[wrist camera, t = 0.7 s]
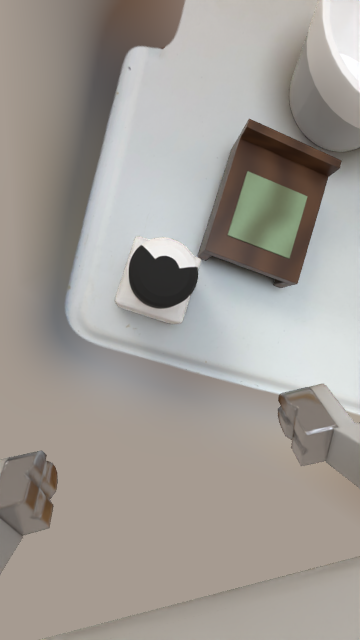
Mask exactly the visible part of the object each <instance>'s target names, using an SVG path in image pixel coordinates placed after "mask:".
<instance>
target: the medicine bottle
mask: <svg viewBox="0 0 360 640" xmlns="http://www.w3.org/2000/svg"><path fill="white" fill-rule="evenodd" d="M200 264H201V259H200V258H198V257H196V256H193V254H192V253H191V251H190V250H189V249H188V248H187V247H186V246H185V245H183V244H182V243H180V242H179V241H177V240H174V239H171V238H164V237H162V238H154V239H151V240H149V239H146V238H143V237H140V236H137V237H135V239H134V242H133V245H132V248H131V251H130V254H129V257H128V260H127V263H126V266H125V269H124V273H123V276H122V279H121V282H120V285H119V288H118V291H117V294H116V297H115V302H116V304H117V306H118V307H120V308H122V309H126V310H129V311H132V312H135V313H138V314H141V315H144V316H147V317H151V318H154V319H157V320H160V321H163V322H166V323H169V324H178V323H182V321H183V318H184V315H185V312H186V309H187V306H188V302H189V299H190V296H191V293H192V292H193V290H194V288H195V286H196V283H197V279H198V270H199V267H200Z"/></svg>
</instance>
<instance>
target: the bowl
mask: <svg viewBox="0 0 360 640" xmlns="http://www.w3.org/2000/svg"><path fill="white" fill-rule="evenodd" d="M289 102H290V107H291V111H292V114H293V117H294V119H295V121H296V123H297V125H298V127H299V128H300V130H301V131H302V132H303V133H304V134H305V136H306V137H307V138H308V139H310V140H311V141H312V142H313V143H315V144H316V145H318V146H320V147H322V148H324V149H327V150H330V151H336V152H345V151H351V150H353V149H356V148H359V147H360V0H318V3H317V6H316V9H315V12H314V15H313V18H312V20H311V23H310V26H309V30H308V33H307V36H306V39H305V42H304V45H303V48H302V50H301V53H300V56H299V59H298V62H297V65H296V68H295V71H294V73H293V76H292V79H291V84H290V89H289Z"/></svg>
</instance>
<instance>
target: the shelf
mask: <svg viewBox="0 0 360 640" xmlns="http://www.w3.org/2000/svg"><path fill="white" fill-rule="evenodd" d="M341 162H342V161H341V160H339V159H337V158H335V157H333V156H330V155H328V154H326V153H324V152H322V151H319V150H317V149H315V148H313V147H311V146H308V145H306V144H304V143H302V142H300V141H297V140H295V139H293V138H291V137H289V136H286V135H284V134H282V133H280V132H278V131H275V130H273V129H271V128H269V127H267V126H264V125H262V124H260V123H258V122H255V121H253V120H251V119H249V120H248V122H247V123H246V125H245V127H244V129H243V130H242V132H241V134H240V136H239V137H238V139H237V141H236V143H235V144H234V146H233V148H232V149H231V152H230V155H229V158H228V162H227V165H226V168H225V171H224V174H223V177H222V181H221V184H220V187H219V190H218V193H217V196H216V200H215V203H214V206H213V209H212V212H211V215H210V219H209V222H208V225H207V228H206V231H205V234H204V238H203V241H202V244H201V247H200V250H199V253H198V258H200V259H202V260H205V261H206V260H207V259H208V258H209V257H211V256H214V257H217V258H220V259H222V260H225V261H228V262H231V263H233V264H236V265H239V266H241V267H244V268H247V269H250V270H252V271H255V272H258V273H260V274H263V275H266V276H269V277H271V278H274V279H275V281H274V284H273V285H274V286H277V287H279V288H283V287H287V286H291V285H295V284H297V283H298V280H299V277H300V273H301V270H302V266H303V263H304V259H305V256H306V252H307V249H308V245H309V242H310V238H311V235H312V232H313V228H314V225H315V221H316V218H317V214H318V211H319V207H320V204H321V200H322V197H323V193H324V190H325V186H326V183H327V180H328V177H329V176H330V175H331V174H333V173H334V172H335V171H337V170H338V169H339V168H340V165H341Z"/></svg>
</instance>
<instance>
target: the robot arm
mask: <svg viewBox="0 0 360 640" xmlns="http://www.w3.org/2000/svg"><path fill="white" fill-rule="evenodd" d="M278 401H279V403H280V405H281V406H280V407H279V408H278V418H279V423H280V425H281V428H282V430H283V432H284V434H285V436H287V437H288V438H289V439H291V440H292V446H291V448H292V450H293V452H294V454H295V456H296V458H297V459H298V461H299V463H300V465H301V466H305V465H309V464H314V463H319V462H324V461H326V463H328V464H329V465H330V466H331V467H333V468H334V469H335V470H337V471H338V472H339V473H341V474H342V475H343V476H345V477H346V478H347V479H348V480H349V481H351V482H352V483H353V484H354V485H356V486H357V487H358V488H360V422H359V423H355V422H354V421H353V420H352V419H351V417H350V416H349V414H347V412H346V411H345V409H344V408H343V407H342V405H341V404H340V403H339V402H338V400H337V399H336V398H335V396H334V395H333V394H332V392H331V391H330V390H329V389H328V387H327V386H326V385H324V384H318V385H315V386H311V387H305V388H301V389H297V390H293V391H289V392H285V393H281V394H280V395H279V400H278ZM57 483H58V479H57V471H56V468H55V466H54V465H53V463H51V462H48V461H46V454H45V453H44V452H43V451H37V452H32V453H27V454H23V455H18V456H14V457H9V458H4V459H0V574H1V572H2V571H3V569H4V568H5V566H6V564H7V563H8V561H9V559H10V557H11V556H12V555H13V553H14V551H15V550H16V548H17V546H18V545H19V543H20V542H21V540H22V538H23V535H27V534H30V533H34V532H38V531H41V530H45V529H48V528H50V522H51V517H52V511H53V504H52V502H51V500H50V499H51V498H52V496H53V495H54V493H55V492H56V489H57ZM40 640H360V556H359V557H355V558H351V559H348V560H343V561H340V562H336V563H332V564H328V565H325V566H320V567H316V568H313V569H309V570H305V571H301V572H298V573H293V574H290V575H286V576H282V577H278V578H274V579H270V580H267V581H263V582H259V583H255V584H251V585H248V586H244V587H240V588H236V589H232V590H229V591H225V592H221V593H217V594H213V595H209V596H205V597H201V598H197V599H194V600H190V601H186V602H182V603H178V604H175V605H171V606H167V607H163V608H159V609H156V610H151V611H148V612H144V613H140V614H136V615H133V616H128V617H125V618H121V619H117V620H113V621H109V622H106V623H102V624H98V625H94V626H90V627H87V628H83V629H79V630H75V631H71V632H67V633H63V634H59V635H56V636H52V637H48V638H44V639H40Z"/></svg>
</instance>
